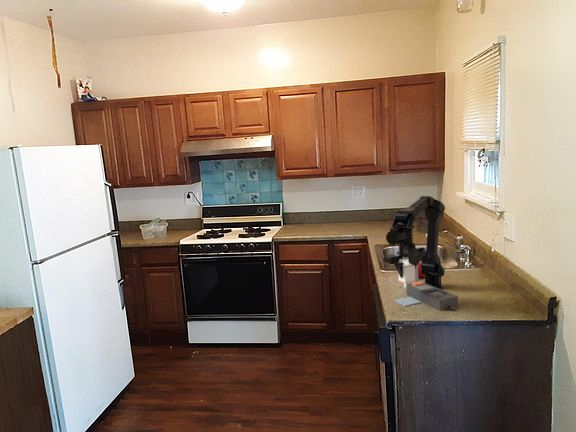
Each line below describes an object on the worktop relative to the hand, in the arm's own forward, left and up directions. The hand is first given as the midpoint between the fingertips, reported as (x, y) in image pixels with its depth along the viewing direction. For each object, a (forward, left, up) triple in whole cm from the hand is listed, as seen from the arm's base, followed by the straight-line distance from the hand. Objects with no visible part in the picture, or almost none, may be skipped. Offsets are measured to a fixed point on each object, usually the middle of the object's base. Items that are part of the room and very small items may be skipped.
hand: (406, 276), depth 186 cm
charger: (0, 0, -2) cm, 2 cm away
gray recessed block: (-9, +5, -11) cm, 15 cm away
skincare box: (-13, -15, -11) cm, 23 cm away
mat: (0, 0, -11) cm, 11 cm away
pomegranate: (-25, -27, -11) cm, 39 cm away
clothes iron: (-98, -116, -11) cm, 153 cm away
